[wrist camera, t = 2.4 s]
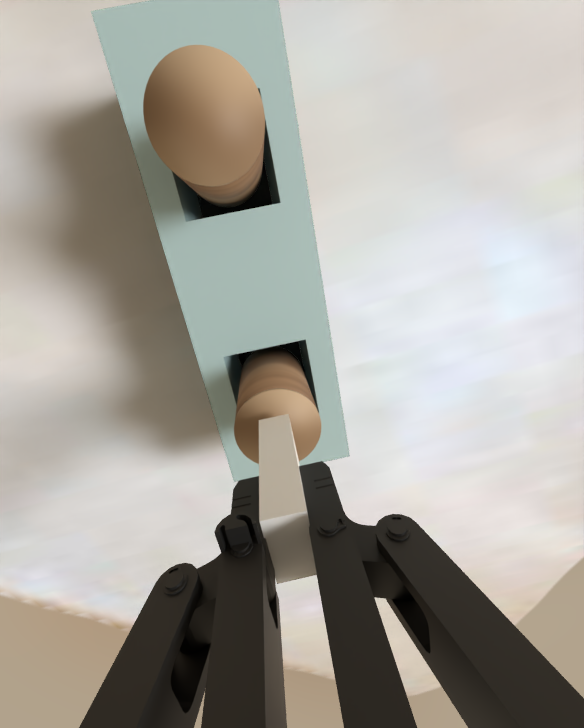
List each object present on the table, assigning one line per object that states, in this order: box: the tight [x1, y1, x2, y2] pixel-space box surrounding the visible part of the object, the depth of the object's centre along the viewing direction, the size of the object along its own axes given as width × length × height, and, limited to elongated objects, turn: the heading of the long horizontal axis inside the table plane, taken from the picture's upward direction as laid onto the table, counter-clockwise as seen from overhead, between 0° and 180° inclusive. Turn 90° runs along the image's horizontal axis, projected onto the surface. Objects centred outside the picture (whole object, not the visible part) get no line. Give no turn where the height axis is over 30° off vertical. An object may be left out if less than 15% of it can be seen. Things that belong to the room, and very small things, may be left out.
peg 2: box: [234, 346, 321, 464], centre depth 22 cm, size 5×5×8 cm
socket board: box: [91, 0, 350, 482], centre depth 25 cm, size 28×9×8 cm, turn 11°
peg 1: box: [143, 45, 265, 207], centre depth 17 cm, size 5×5×8 cm
